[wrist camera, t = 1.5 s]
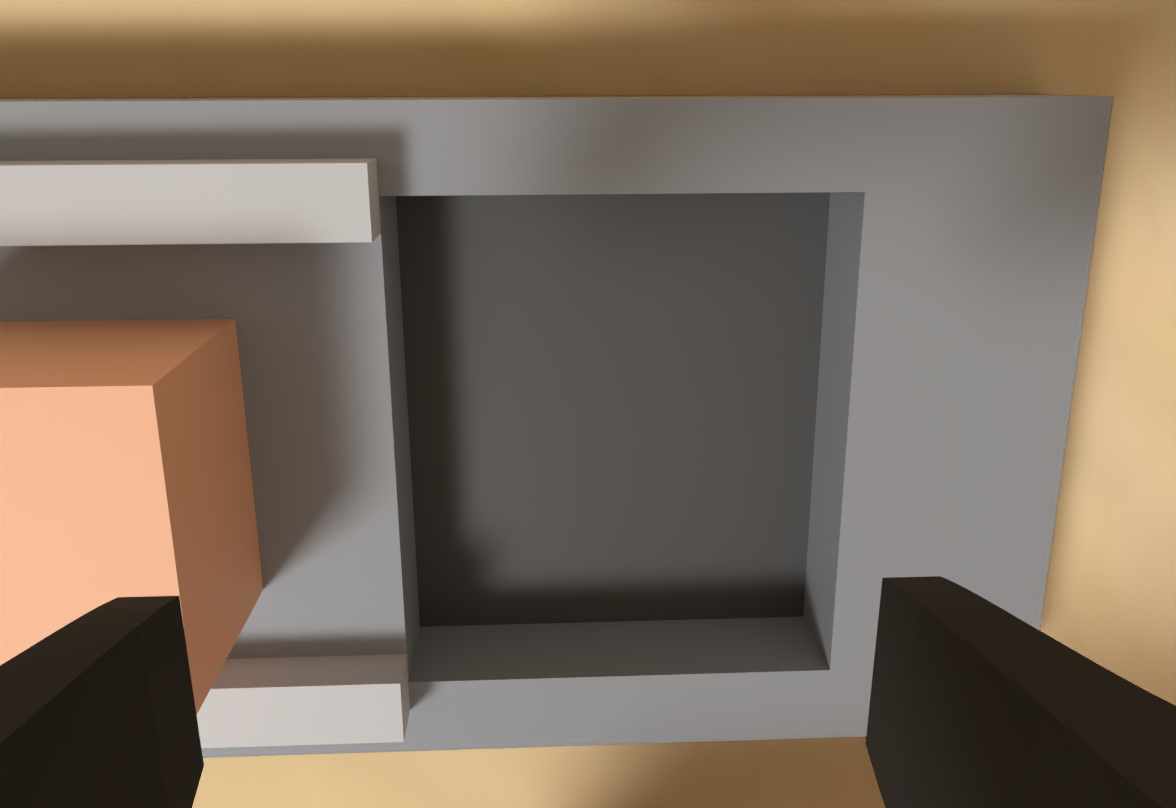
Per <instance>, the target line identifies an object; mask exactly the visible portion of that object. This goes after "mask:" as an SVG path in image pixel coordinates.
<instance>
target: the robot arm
mask: <svg viewBox="0 0 1176 808" xmlns="http://www.w3.org/2000/svg"><path fill="white" fill-rule="evenodd" d="M866 746H867V750H868V753H869V756H870V759H871V763H872V766H873V769H874V773H875V776H876V779H877V782H878V786H879V789H880V792H881V795H882V798H883V801H884V804H885V807H886V808H1176V706H1175V705H1173V704H1171V703H1169V702H1167V701H1165V700H1163V699H1161V698H1159V697H1157V696H1155V695H1153V694H1151V693H1149V692H1147V691H1145V690H1144V689H1142V688H1140V687H1138V686H1136V685H1134V684H1133V683H1131V682H1129V681H1127V680H1125V679H1123V678H1122V677H1120V676H1118V675H1116V674H1114V673H1112V672H1111V671H1109V670H1107V669H1105V668H1104V667H1102V666H1100V665H1098V664H1096V663H1095V662H1093V661H1091V660H1089V659H1088V658H1086V657H1084V656H1082V655H1081V654H1079V653H1077V652H1075V651H1074V650H1072V649H1070V648H1068V647H1067V646H1065V645H1063V644H1062V643H1060V642H1058V641H1056V640H1055V639H1053V638H1051V637H1050V636H1048V635H1046V634H1044V633H1043V632H1041V631H1039V630H1038V629H1036V628H1034V627H1033V626H1031V625H1029V624H1027V623H1026V622H1024V621H1022V620H1021V619H1019V618H1017V617H1016V616H1014V615H1012V614H1010V613H1009V612H1007V611H1005V610H1004V609H1002V608H1000V607H998V606H997V605H995V604H993V603H991V602H990V601H988V600H986V599H984V598H983V597H981V596H979V595H977V594H975V593H974V592H972V591H970V590H968V589H966V588H964V587H962V586H960V585H958V584H956V583H954V582H952V581H950V580H948V579H946V578H943V577H941V576H930V577H891V578H882V587H881V597H880V607H879V617H878V626H877V636H876V646H875V656H874V666H873V676H872V685H871V695H870V705H869V715H868V725H867V734H866ZM203 766H204V763H203V756H202V749H201V743H200V736H199V729H198V722H197V715H196V708H195V701H194V695H193V688H192V681H191V674H190V667H189V660H188V653H187V647H186V640H185V633H184V626H183V619H182V612H181V606H180V599H179V596H148V597H117V598H115V599H113V600H111V601H109V602H107V603H105V604H103V605H101V606H99V607H97V608H95V609H93V610H91V611H90V612H88V613H86V614H84V615H83V616H81V617H79V618H77V619H76V620H74V621H72V622H71V623H69V624H67V625H66V626H64V627H62V628H61V629H59V630H57V631H56V632H54V633H52V634H51V635H49V636H47V637H46V638H44V639H43V640H41V641H39V642H38V643H36V644H34V645H33V646H31V647H30V648H28V649H26V650H25V651H23V652H21V653H20V654H18V655H17V656H15V657H13V658H12V659H10V660H8V661H7V662H5V663H3V664H2V665H0V808H192V805H193V802H194V798H195V795H196V791H197V787H198V784H199V780H200V777H201V773H202V770H203Z"/></svg>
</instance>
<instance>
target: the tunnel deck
mask: <svg viewBox="0 0 1176 808" xmlns="http://www.w3.org/2000/svg"><path fill="white" fill-rule="evenodd" d="M1112 105H1113V97H1104V96H1074V95H801V96H560V97H319V98H77V99H0V322H35V321H109V320H183V319H235V322H236V332H237V341H238V351H239V361H240V370H241V380H242V389H243V399H244V408H245V418H246V428H247V437H248V447H249V456H250V466H251V476H252V485H253V495H254V504H255V514H256V524H257V533H258V543H259V552H260V562H261V572H262V581H263V591H262V593H261V595H260V597H259V599H258V600H257V602H256V604H255V606H254V608H253V610H252V612H251V614H250V616H249V617H248V619H247V621H246V623H245V625H244V627H243V629H242V631H241V633H240V634H239V636H238V638H237V640H236V642H235V644H234V646H233V648H232V650H231V651H230V653H229V655H228V657H227V659H226V661H225V663H224V665H223V666H222V668H221V670H220V672H219V674H218V676H217V678H216V680H215V682H214V683H213V685H212V687H211V689H210V691H209V693H208V695H207V697H206V699H205V700H204V702H203V704H202V706H201V708H200V710H199V712H198V714H197V722H198V729H199V736H200V743H201V749H202V756H203V758H209V757H241V756H272V755H303V754H335V753H366V752H397V751H428V750H460V749H491V748H522V747H553V746H585V745H616V744H647V743H679V742H710V741H741V740H772V739H804V738H835V737H866V734H867V725H868V715H869V705H870V695H871V685H872V676H873V666H874V656H875V646H876V636H877V626H878V617H879V607H880V597H881V587H882V578H891V577H930V576H941V577H943V578H946V579H948V580H950V581H952V582H954V583H956V584H958V585H960V586H962V587H964V588H966V589H968V590H970V591H972V592H974V593H975V594H977V595H979V596H981V597H983V598H984V599H986V600H988V601H990V602H991V603H993V604H995V605H997V606H998V607H1000V608H1002V609H1004V610H1005V611H1007V612H1009V613H1010V614H1012V615H1014V616H1016V617H1017V618H1019V619H1021V620H1022V621H1024V622H1026V623H1027V624H1029V625H1031V626H1033V627H1034V628H1036V629H1038V630H1039V631H1040V625H1041V618H1042V611H1043V603H1044V596H1045V589H1046V582H1047V574H1048V567H1049V560H1050V553H1051V546H1052V538H1053V531H1054V524H1055V517H1056V509H1057V502H1058V495H1059V488H1060V480H1061V473H1062V466H1063V459H1064V452H1065V444H1066V437H1067V430H1068V423H1069V415H1070V408H1071V401H1072V394H1073V386H1074V379H1075V372H1076V365H1077V358H1078V350H1079V343H1080V336H1081V329H1082V321H1083V314H1084V307H1085V300H1086V292H1087V285H1088V278H1089V271H1090V264H1091V256H1092V249H1093V242H1094V235H1095V227H1096V220H1097V213H1098V206H1099V199H1100V191H1101V184H1102V177H1103V170H1104V162H1105V155H1106V148H1107V141H1108V133H1109V126H1110V119H1111V112H1112Z"/></svg>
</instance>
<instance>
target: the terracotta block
mask: <svg viewBox="0 0 1176 808" xmlns="http://www.w3.org/2000/svg"><path fill="white" fill-rule="evenodd" d="M262 591H263V581H262V572H261V562H260V552H259V543H258V533H257V524H256V514H255V504H254V495H253V485H252V476H251V466H250V456H249V447H248V437H247V428H246V418H245V408H244V399H243V389H242V380H241V370H240V361H239V351H238V341H237V332H236V322H235V319H183V320H109V321H35V322H0V665H2V664H3V663H5V662H7V661H8V660H10V659H12V658H13V657H15V656H17V655H18V654H20V653H21V652H23V651H25V650H26V649H28V648H30V647H31V646H33V645H34V644H36V643H38V642H39V641H41V640H43V639H44V638H46V637H47V636H49V635H51V634H52V633H54V632H56V631H57V630H59V629H61V628H62V627H64V626H66V625H67V624H69V623H71V622H72V621H74V620H76V619H77V618H79V617H81V616H83V615H84V614H86V613H88V612H90V611H91V610H93V609H95V608H97V607H99V606H101V605H103V604H105V603H107V602H109V601H111V600H113V599H115V598H117V597H148V596H179V599H180V606H181V612H182V619H183V626H184V633H185V640H186V647H187V653H188V660H189V667H190V674H191V681H192V688H193V695H194V701H195V708H196V715H197V714H198V712H199V710H200V708H201V706H202V704H203V702H204V700H205V699H206V697H207V695H208V693H209V691H210V689H211V687H212V685H213V683H214V682H215V680H216V678H217V676H218V674H219V672H220V670H221V668H222V666H223V665H224V663H225V661H226V659H227V657H228V655H229V653H230V651H231V650H232V648H233V646H234V644H235V642H236V640H237V638H238V636H239V634H240V633H241V631H242V629H243V627H244V625H245V623H246V621H247V619H248V617H249V616H250V614H251V612H252V610H253V608H254V606H255V604H256V602H257V600H258V599H259V597H260V595H261V593H262Z"/></svg>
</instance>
